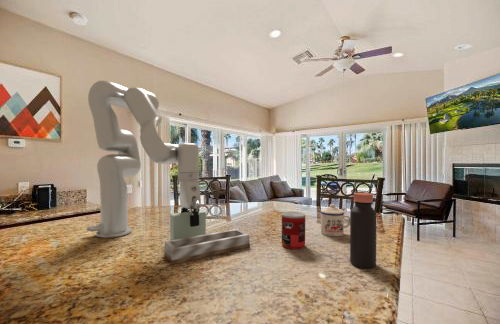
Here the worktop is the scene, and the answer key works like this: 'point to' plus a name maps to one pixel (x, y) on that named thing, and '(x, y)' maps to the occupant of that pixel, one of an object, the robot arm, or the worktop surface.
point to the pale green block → (186, 225)
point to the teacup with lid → (333, 221)
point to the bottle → (363, 232)
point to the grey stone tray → (205, 245)
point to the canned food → (293, 230)
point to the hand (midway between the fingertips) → (189, 223)
